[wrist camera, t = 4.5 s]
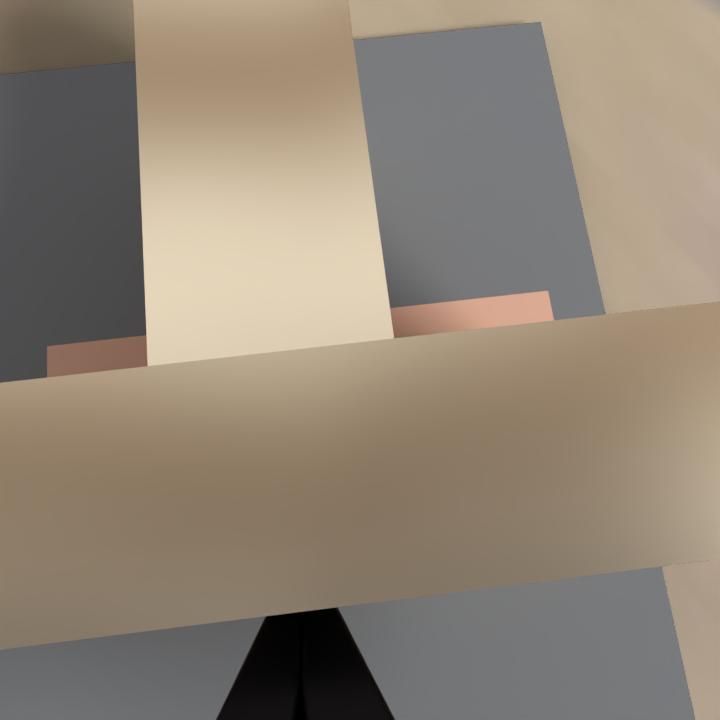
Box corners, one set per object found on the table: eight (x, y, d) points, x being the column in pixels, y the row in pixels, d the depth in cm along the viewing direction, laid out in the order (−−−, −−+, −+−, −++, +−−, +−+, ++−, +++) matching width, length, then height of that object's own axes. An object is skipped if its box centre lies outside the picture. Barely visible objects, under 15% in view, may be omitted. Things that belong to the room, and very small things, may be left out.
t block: (590, 543, 15) (822, 545, 8) (56, 610, 15) (-264, 682, 7) (506, 121, 18) (615, -188, 11) (54, 167, 18) (-178, -118, 10)
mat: (782, 1154, 13) (796, 1172, 13) (-125, 1295, 12) (-141, 1320, 12) (537, 32, 19) (540, 21, 19) (-67, 91, 19) (-76, 81, 18)
